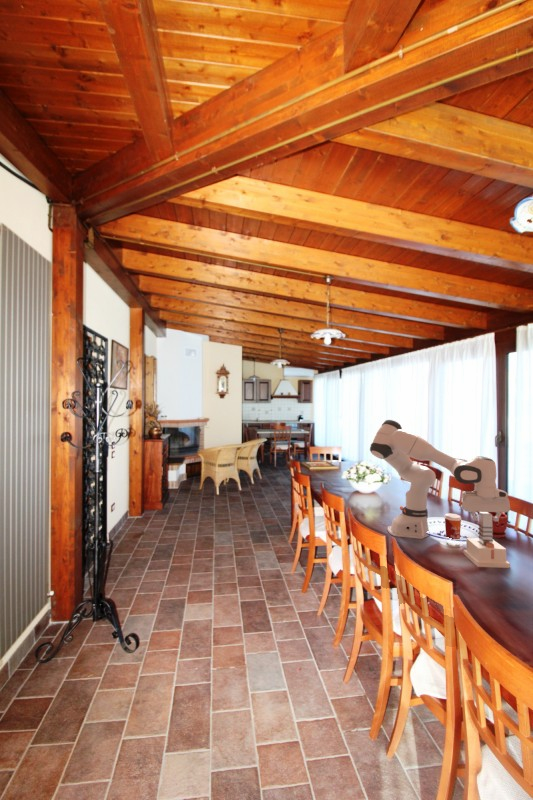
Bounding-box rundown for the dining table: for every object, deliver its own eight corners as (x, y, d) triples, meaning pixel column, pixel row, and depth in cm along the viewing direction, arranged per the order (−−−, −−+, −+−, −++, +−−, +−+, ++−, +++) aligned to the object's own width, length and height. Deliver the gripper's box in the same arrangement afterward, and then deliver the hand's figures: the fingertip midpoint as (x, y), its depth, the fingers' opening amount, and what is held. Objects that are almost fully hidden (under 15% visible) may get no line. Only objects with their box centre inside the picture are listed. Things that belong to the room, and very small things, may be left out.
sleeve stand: (477, 566, 165) (477, 545, 165) (463, 553, 179) (463, 534, 179) (510, 567, 163) (510, 546, 163) (493, 554, 177) (493, 534, 177)
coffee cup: (455, 548, 185) (454, 518, 185) (440, 542, 192) (440, 514, 192) (465, 545, 189) (465, 516, 189) (451, 539, 196) (450, 512, 196)
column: (483, 561, 169) (483, 514, 169) (478, 557, 173) (478, 511, 173) (493, 562, 169) (493, 514, 169) (488, 558, 173) (488, 511, 173)
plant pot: (512, 540, 195) (512, 517, 195) (485, 538, 198) (485, 516, 198) (501, 531, 208) (501, 510, 208) (476, 529, 211) (476, 509, 211)
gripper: (465, 492, 169) (465, 522, 169) (511, 493, 167) (512, 523, 167) (459, 489, 175) (459, 518, 175) (504, 490, 173) (504, 519, 173)
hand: (485, 520), depth 171 cm, fingers open, 8 cm apart
